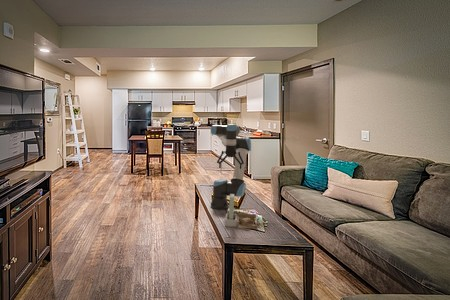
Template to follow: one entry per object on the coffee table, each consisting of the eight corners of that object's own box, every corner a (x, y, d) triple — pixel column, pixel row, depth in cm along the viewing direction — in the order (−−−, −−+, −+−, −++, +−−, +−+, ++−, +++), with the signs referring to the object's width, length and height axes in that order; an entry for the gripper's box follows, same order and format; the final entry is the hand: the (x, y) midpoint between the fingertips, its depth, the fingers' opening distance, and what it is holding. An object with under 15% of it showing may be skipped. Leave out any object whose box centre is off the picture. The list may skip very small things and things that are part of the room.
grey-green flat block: (228, 224, 237) (229, 197, 234) (229, 220, 246) (230, 193, 244) (232, 225, 236) (234, 197, 234) (233, 220, 246) (234, 194, 244)
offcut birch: (239, 226, 238) (239, 222, 238) (253, 226, 239) (253, 223, 238) (239, 228, 234) (239, 224, 234) (253, 228, 235) (254, 224, 235)
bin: (225, 220, 249) (225, 213, 248) (236, 220, 248) (237, 214, 248) (224, 226, 235) (225, 219, 234) (236, 227, 234) (236, 220, 234)
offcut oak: (241, 221, 235) (241, 219, 235) (247, 219, 239) (247, 217, 239) (245, 222, 233) (245, 220, 232) (250, 220, 237) (250, 218, 237)
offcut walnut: (239, 223, 236) (239, 220, 236) (249, 221, 241) (250, 219, 241) (242, 225, 233) (242, 222, 232) (253, 223, 237) (253, 220, 237)
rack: (236, 221, 247) (237, 213, 247) (255, 222, 247) (256, 214, 246) (236, 227, 233) (237, 219, 233) (256, 228, 233) (257, 220, 232)
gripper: (214, 144, 247) (213, 173, 250) (247, 146, 246) (246, 174, 249) (214, 143, 254) (213, 171, 257) (247, 144, 254) (246, 172, 256)
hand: (230, 172), depth 253 cm, fingers open, 13 cm apart
